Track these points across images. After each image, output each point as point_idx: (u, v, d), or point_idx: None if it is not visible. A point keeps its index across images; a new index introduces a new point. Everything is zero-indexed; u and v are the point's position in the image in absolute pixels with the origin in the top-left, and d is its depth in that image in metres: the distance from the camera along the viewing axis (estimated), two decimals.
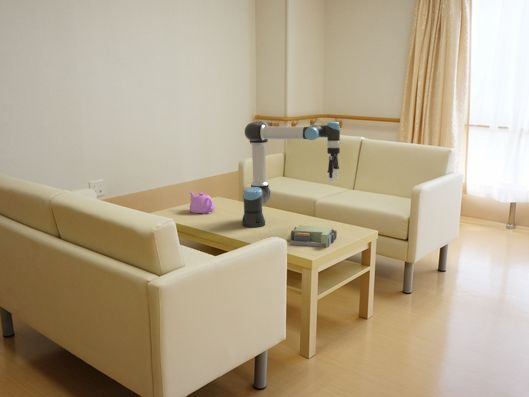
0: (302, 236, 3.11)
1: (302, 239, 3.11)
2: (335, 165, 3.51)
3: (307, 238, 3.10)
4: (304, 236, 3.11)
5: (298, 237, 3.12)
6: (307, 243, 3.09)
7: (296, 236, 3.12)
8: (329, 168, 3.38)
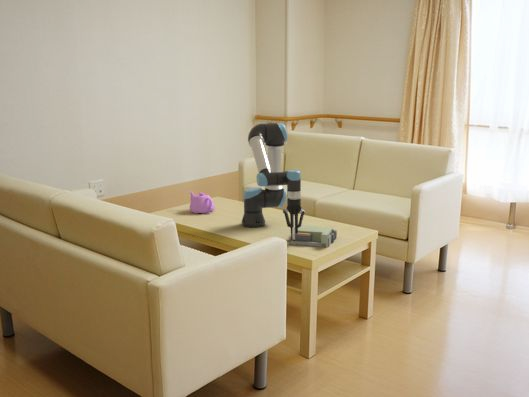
0: (303, 236, 3.11)
1: (303, 239, 3.11)
2: None
3: (308, 238, 3.10)
4: (305, 236, 3.11)
5: (299, 237, 3.12)
6: (307, 243, 3.09)
7: (297, 236, 3.12)
8: None
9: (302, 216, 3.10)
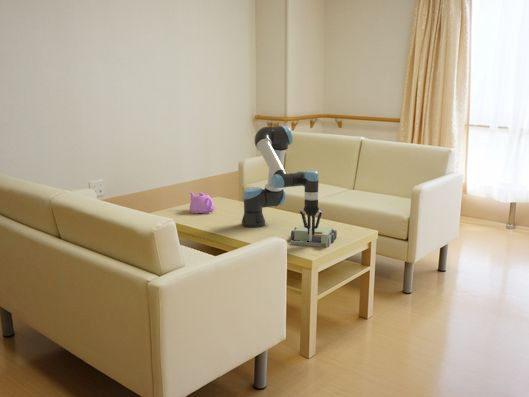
0: (320, 237, 3.08)
1: (320, 240, 3.08)
2: None
3: None
4: None
5: (315, 238, 3.09)
6: (307, 243, 3.09)
7: (313, 237, 3.09)
8: None
9: (319, 217, 3.07)
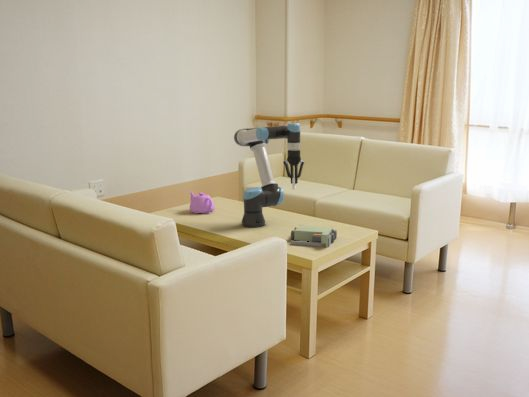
0: (320, 237, 3.08)
1: (320, 240, 3.08)
2: None
3: None
4: None
5: (315, 238, 3.09)
6: (307, 243, 3.09)
7: (313, 237, 3.09)
8: None
9: (301, 166, 3.28)
